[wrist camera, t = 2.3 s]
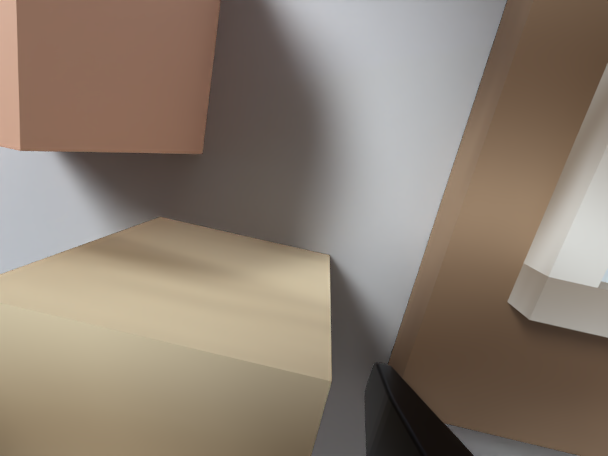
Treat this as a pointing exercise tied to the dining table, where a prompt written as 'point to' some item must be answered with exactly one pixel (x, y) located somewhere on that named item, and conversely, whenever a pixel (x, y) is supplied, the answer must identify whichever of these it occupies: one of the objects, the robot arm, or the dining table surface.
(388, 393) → the robot arm
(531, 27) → the walnut board
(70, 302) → the maple block
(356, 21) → the dining table surface
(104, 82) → the terracotta block
